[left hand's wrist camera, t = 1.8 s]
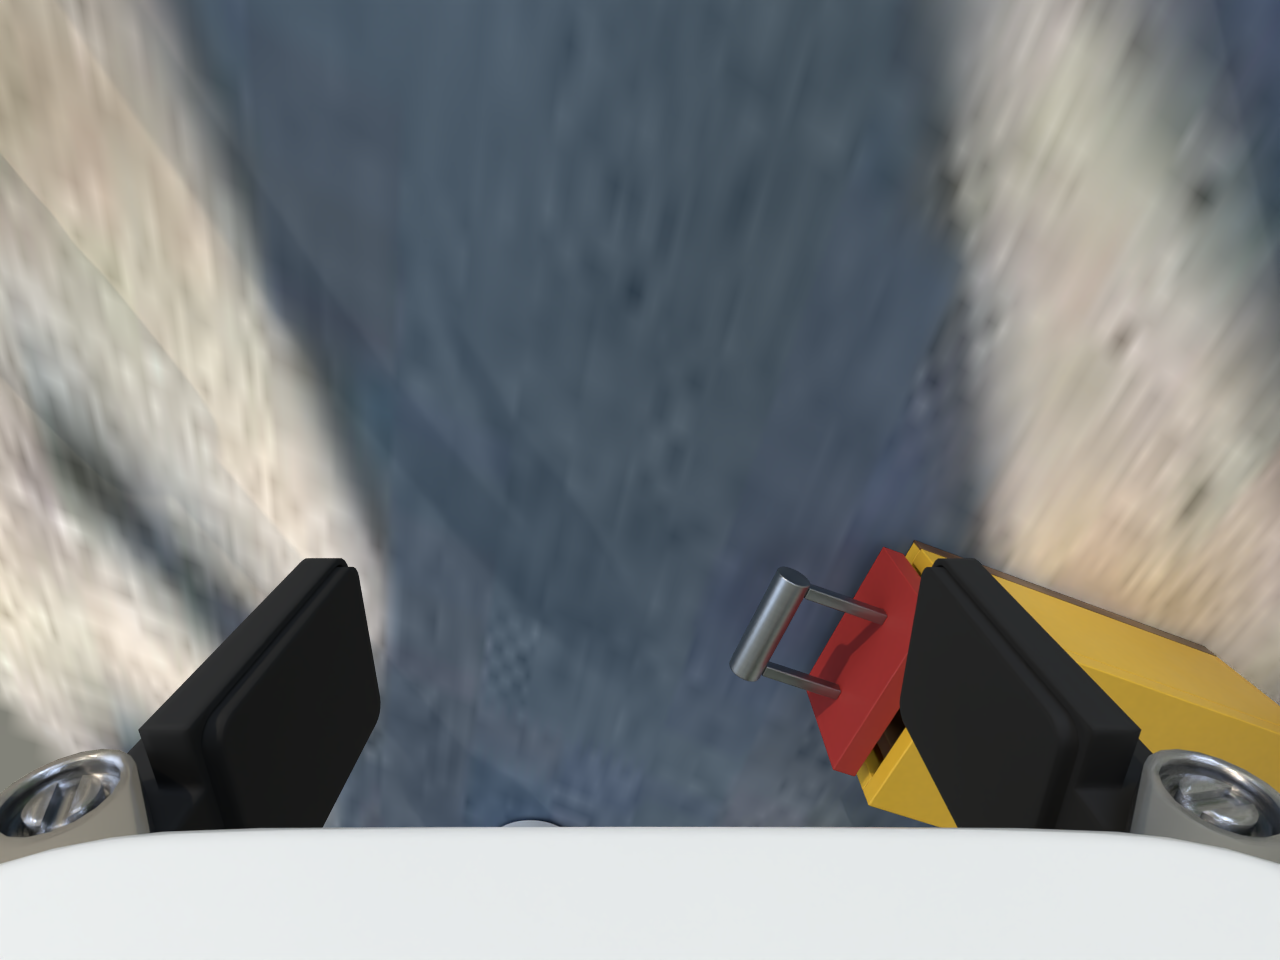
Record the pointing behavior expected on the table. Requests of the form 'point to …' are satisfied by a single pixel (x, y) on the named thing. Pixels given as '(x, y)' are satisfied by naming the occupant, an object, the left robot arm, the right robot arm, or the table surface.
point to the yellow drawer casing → (1130, 675)
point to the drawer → (843, 655)
